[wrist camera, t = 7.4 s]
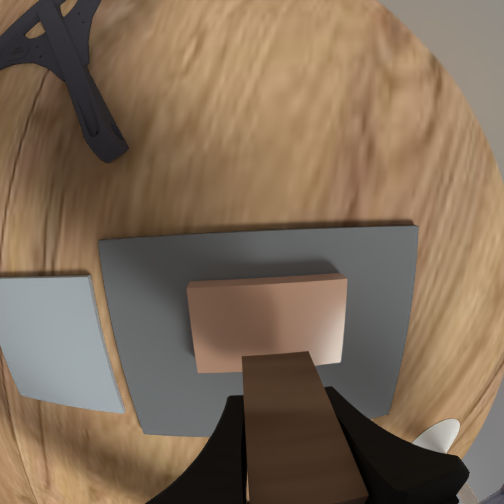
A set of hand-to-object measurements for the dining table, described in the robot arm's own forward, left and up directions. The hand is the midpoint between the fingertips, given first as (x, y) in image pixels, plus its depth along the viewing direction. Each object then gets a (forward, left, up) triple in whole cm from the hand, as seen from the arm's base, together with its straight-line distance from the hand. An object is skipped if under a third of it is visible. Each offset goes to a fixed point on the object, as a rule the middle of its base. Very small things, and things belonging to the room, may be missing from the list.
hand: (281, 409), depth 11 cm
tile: (-1, 0, -5) cm, 5 cm away
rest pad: (0, +15, -6) cm, 16 cm away
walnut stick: (0, 0, -2) cm, 2 cm away
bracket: (+17, +11, -7) cm, 22 cm away
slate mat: (0, 0, -6) cm, 6 cm away
